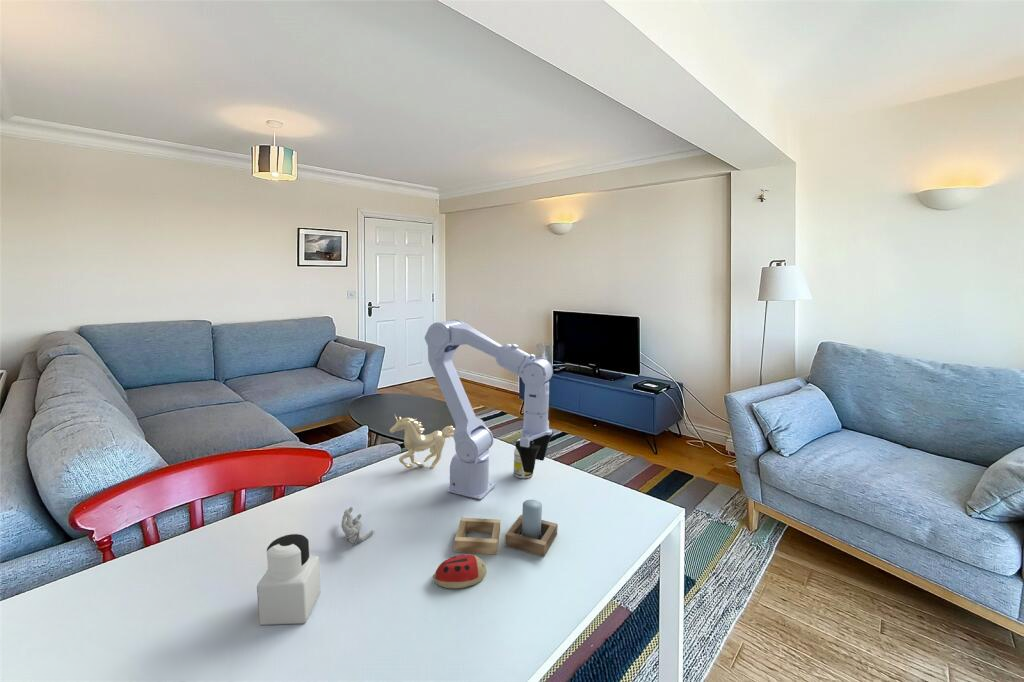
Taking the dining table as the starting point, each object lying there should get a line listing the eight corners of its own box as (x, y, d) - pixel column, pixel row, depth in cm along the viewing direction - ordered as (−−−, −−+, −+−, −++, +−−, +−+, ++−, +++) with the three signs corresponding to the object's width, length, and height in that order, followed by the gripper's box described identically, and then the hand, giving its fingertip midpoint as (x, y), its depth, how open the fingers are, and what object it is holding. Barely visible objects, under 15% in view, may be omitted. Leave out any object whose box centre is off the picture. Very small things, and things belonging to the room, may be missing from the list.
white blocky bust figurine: (278, 594, 78) (274, 529, 76) (321, 592, 79) (318, 528, 77) (258, 626, 71) (254, 555, 69) (306, 624, 72) (302, 554, 70)
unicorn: (455, 458, 136) (455, 402, 133) (460, 463, 132) (461, 406, 130) (388, 471, 126) (387, 411, 123) (392, 477, 122) (391, 416, 120)
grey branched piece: (372, 522, 102) (381, 534, 92) (356, 542, 100) (364, 556, 90) (345, 501, 101) (351, 510, 90) (328, 521, 99) (333, 532, 88)
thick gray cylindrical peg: (517, 541, 95) (519, 505, 94) (527, 532, 98) (528, 497, 97) (535, 547, 93) (536, 511, 92) (543, 538, 96) (545, 503, 95)
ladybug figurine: (491, 583, 82) (492, 565, 82) (438, 597, 79) (438, 578, 78) (479, 561, 88) (479, 544, 88) (429, 573, 85) (429, 555, 84)
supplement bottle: (533, 471, 128) (534, 437, 127) (532, 479, 123) (533, 445, 122) (514, 469, 129) (515, 436, 127) (512, 478, 124) (513, 443, 122)
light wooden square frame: (454, 551, 91) (454, 540, 90) (461, 528, 99) (461, 517, 99) (496, 554, 90) (497, 542, 90) (500, 530, 99) (500, 519, 98)
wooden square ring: (504, 545, 93) (505, 534, 93) (520, 525, 101) (520, 514, 101) (544, 556, 90) (544, 545, 90) (557, 534, 98) (557, 523, 97)
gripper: (541, 422, 98) (539, 481, 100) (561, 404, 112) (559, 457, 114) (512, 417, 101) (510, 475, 103) (534, 401, 114) (532, 452, 116)
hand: (534, 465), depth 109 cm, fingers open, 7 cm apart
